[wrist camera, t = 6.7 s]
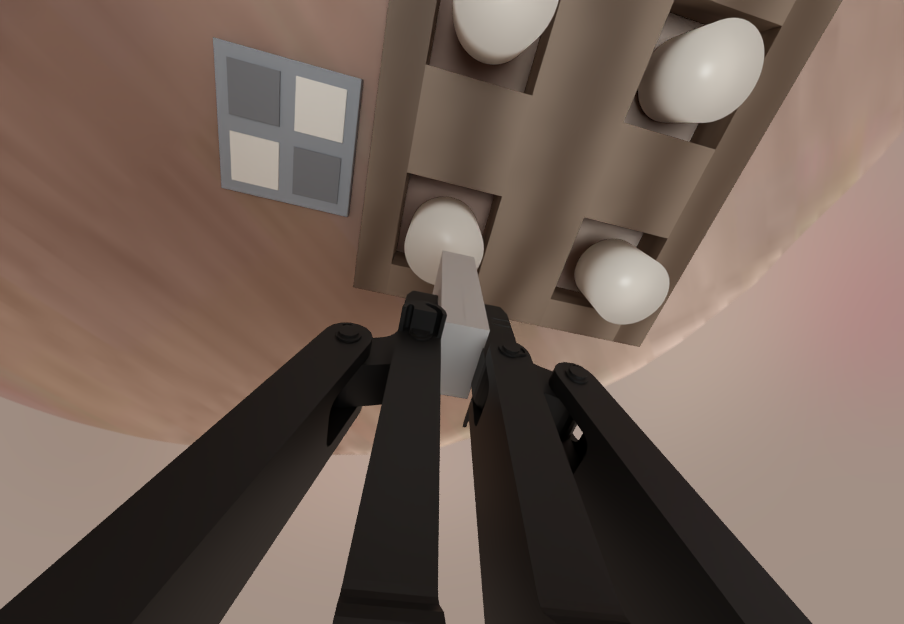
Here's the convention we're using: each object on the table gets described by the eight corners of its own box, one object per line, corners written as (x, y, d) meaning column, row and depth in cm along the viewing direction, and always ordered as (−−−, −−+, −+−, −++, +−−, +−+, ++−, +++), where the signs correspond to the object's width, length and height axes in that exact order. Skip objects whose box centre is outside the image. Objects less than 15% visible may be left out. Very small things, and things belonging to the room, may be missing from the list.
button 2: (443, 51, 20) (443, 36, 17) (464, -62, 18) (469, -107, 14) (523, 75, 21) (539, 65, 17) (553, -32, 19) (578, -67, 15)
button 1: (404, 255, 26) (398, 277, 22) (417, 188, 24) (412, 200, 20) (468, 270, 26) (471, 292, 23) (486, 206, 24) (493, 220, 21)
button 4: (625, 111, 24) (656, 110, 20) (661, 24, 22) (703, 5, 18) (688, 130, 24) (729, 132, 21) (730, 47, 22) (783, 33, 19)
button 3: (564, 291, 27) (582, 316, 24) (590, 231, 25) (614, 249, 22) (621, 304, 28) (646, 330, 25) (651, 246, 26) (683, 266, 22)
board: (361, 272, 30) (353, 287, 27) (416, -143, 19) (411, -186, 16) (623, 328, 33) (639, 346, 30) (803, -1, 22) (852, -18, 19)
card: (225, 186, 26) (220, 188, 26) (218, 39, 22) (211, 36, 21) (348, 215, 27) (346, 217, 27) (363, 80, 23) (361, 78, 23)
